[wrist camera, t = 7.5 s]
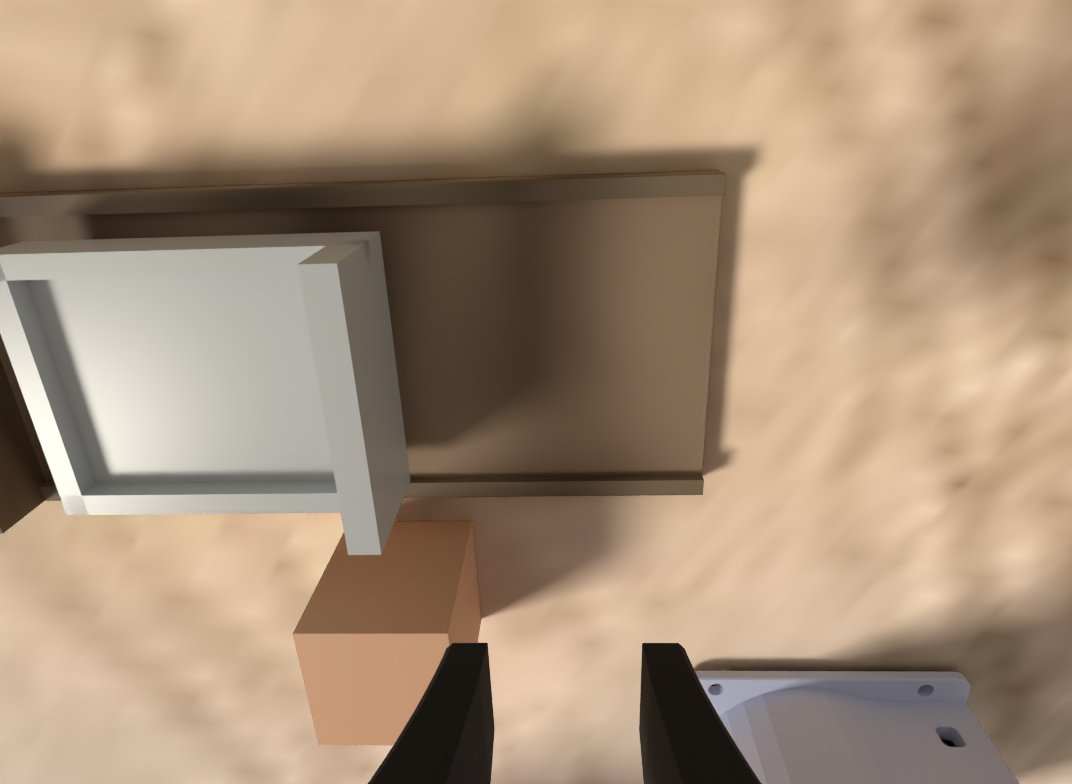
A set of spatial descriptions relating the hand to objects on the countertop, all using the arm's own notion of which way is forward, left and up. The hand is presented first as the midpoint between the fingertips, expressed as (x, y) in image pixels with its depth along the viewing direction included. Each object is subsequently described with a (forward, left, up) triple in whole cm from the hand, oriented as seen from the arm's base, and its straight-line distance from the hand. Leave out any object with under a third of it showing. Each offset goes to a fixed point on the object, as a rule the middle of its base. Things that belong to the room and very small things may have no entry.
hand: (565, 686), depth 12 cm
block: (+5, +5, -10) cm, 12 cm away
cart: (+9, -3, -9) cm, 13 cm away
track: (+6, -3, -9) cm, 12 cm away
